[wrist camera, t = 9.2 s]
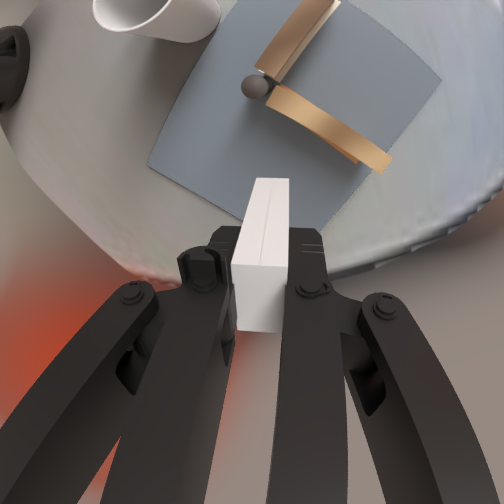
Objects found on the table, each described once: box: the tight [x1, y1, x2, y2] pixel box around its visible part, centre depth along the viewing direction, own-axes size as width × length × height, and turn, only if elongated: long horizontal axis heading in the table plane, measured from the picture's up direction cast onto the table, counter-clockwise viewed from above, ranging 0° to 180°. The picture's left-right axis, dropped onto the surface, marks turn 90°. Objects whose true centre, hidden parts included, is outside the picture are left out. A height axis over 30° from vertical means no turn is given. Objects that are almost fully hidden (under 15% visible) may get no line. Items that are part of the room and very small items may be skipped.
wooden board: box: [265, 85, 393, 175], centre depth 22 cm, size 11×2×6 cm, turn 63°
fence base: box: [241, 0, 335, 99], centre depth 18 cm, size 2×13×6 cm, turn 148°
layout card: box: [146, 0, 442, 233], centre depth 25 cm, size 21×27×1 cm
